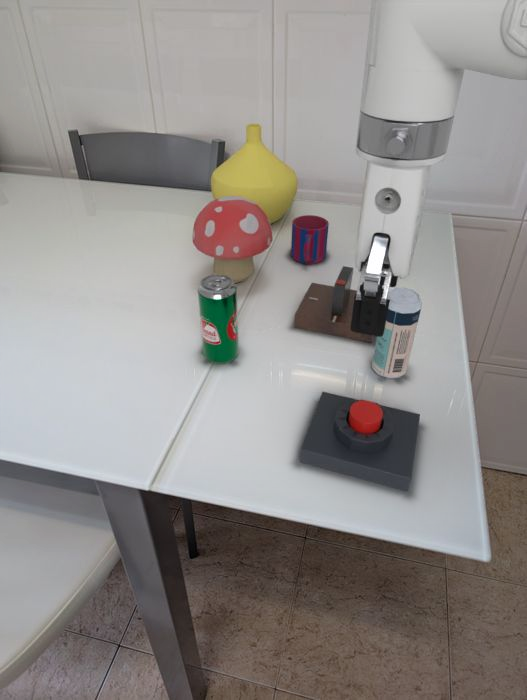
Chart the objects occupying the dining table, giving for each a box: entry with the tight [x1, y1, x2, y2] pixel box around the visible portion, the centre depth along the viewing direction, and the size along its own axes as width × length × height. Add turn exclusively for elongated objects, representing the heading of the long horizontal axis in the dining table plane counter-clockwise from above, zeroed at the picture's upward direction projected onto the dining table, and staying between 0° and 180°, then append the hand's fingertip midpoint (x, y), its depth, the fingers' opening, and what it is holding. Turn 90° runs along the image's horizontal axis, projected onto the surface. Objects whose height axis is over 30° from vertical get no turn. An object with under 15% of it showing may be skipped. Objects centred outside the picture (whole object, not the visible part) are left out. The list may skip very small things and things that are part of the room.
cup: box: [290, 214, 330, 265], centre depth 92 cm, size 7×10×7 cm
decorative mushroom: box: [192, 196, 274, 284], centre depth 83 cm, size 13×13×15 cm
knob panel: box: [293, 282, 374, 344], centre depth 78 cm, size 12×10×3 cm
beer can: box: [371, 287, 423, 379], centre depth 65 cm, size 5×5×12 cm
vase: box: [210, 123, 299, 225], centre depth 103 cm, size 18×18×19 cm
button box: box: [299, 391, 421, 492], centre depth 57 cm, size 12×10×4 cm
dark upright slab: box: [331, 265, 354, 315], centre depth 76 cm, size 6×2×5 cm, turn 161°
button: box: [348, 399, 383, 434], centre depth 55 cm, size 4×4×2 cm
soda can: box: [197, 273, 240, 365], centre depth 68 cm, size 5×5×12 cm
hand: (374, 306), depth 52 cm, fingers open, 9 cm apart
